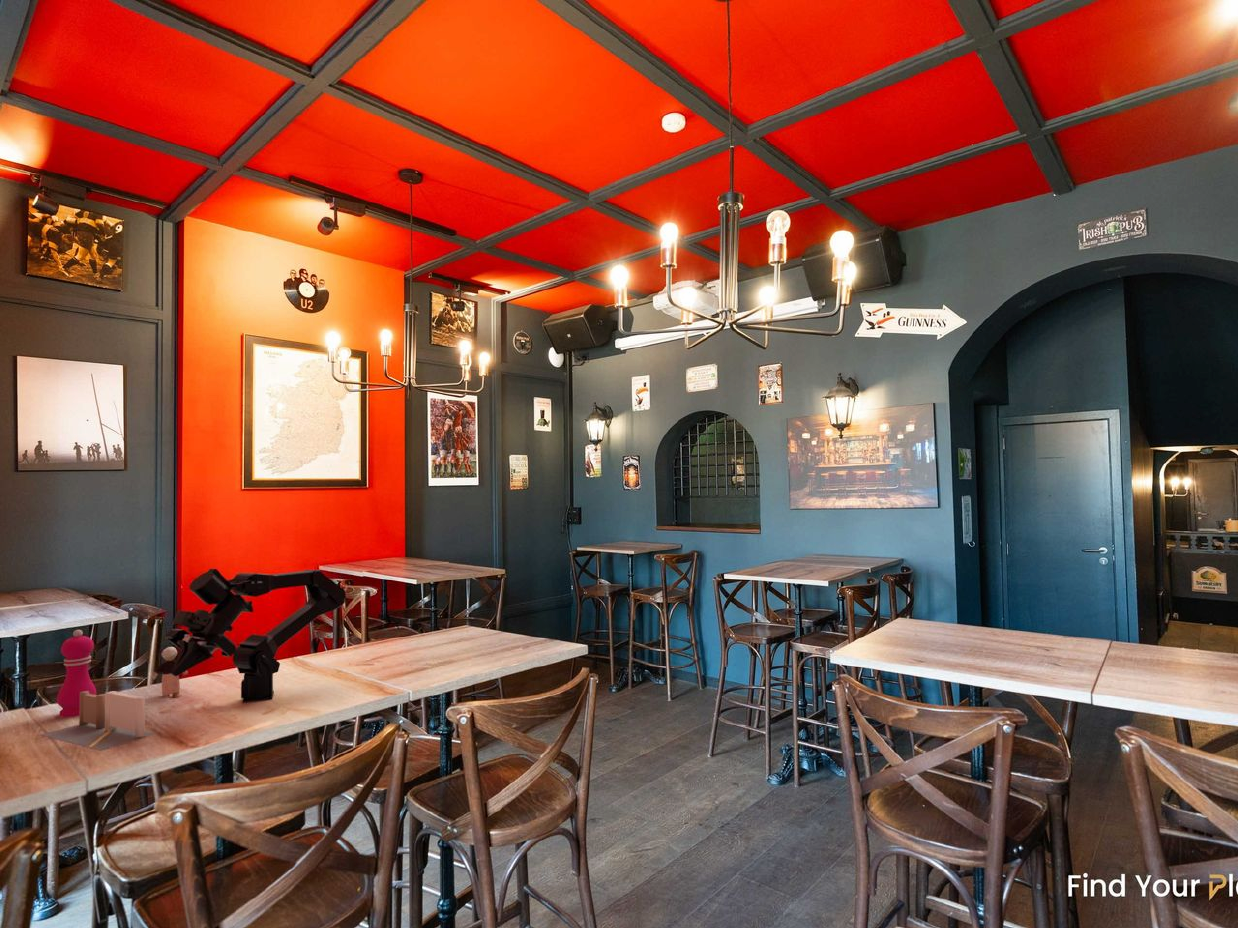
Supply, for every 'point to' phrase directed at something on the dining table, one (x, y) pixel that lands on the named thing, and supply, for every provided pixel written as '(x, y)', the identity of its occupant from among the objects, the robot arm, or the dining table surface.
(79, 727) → the board
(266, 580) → the robot arm
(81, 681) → the pepper mill
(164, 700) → the dining table surface
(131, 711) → the fence gate
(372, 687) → the dining table surface
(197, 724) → the dining table surface
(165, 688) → the grandmother figurine
